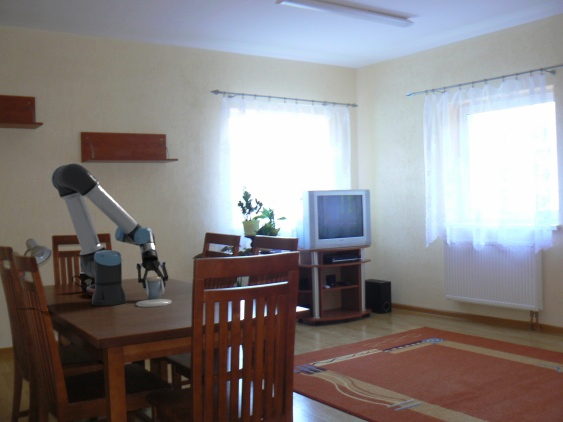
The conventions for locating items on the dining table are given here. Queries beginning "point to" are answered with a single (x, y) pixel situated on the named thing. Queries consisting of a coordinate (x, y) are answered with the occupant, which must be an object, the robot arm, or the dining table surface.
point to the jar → (154, 288)
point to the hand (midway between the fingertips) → (155, 292)
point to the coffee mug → (84, 281)
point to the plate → (153, 303)
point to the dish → (91, 290)
